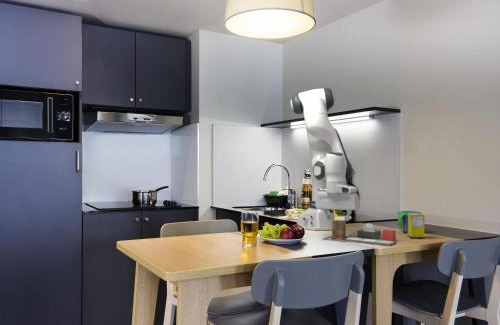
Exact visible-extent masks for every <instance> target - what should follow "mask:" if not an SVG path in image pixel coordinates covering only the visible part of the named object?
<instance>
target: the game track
mask: <svg viewBox="0 0 500 325" xmlns="http://www.w3.org/2000/svg"><path fill="white" fill-rule="evenodd" d="M344 241H347V242H350V243H358V244H368V245H375V246H376V245H377V246H383V247H384V246H385V247H391V246H393V245H396V244H397V241H385V240H382V239H377V240H375V239H366V238H357V236H356V237H355V236H350V238H347V239H345V240H344Z"/></svg>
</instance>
